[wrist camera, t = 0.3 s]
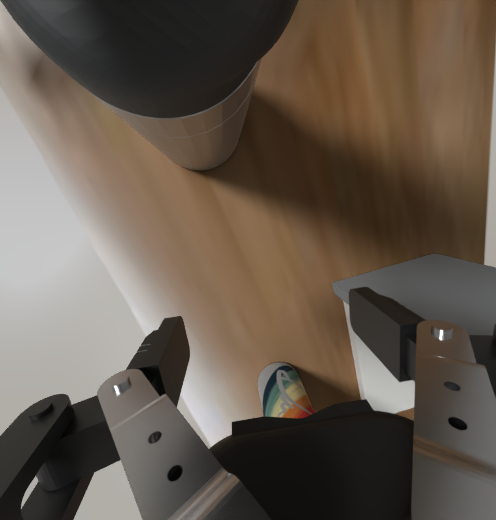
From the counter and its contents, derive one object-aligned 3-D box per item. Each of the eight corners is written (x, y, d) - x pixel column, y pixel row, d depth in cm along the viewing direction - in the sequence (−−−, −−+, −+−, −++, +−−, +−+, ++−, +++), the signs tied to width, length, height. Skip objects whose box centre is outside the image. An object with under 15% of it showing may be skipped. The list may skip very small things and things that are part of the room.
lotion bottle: (294, 356, 34) (393, 566, 14) (300, 391, 35) (397, 626, 16) (253, 366, 33) (297, 594, 14) (260, 401, 35) (310, 652, 15)
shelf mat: (342, 298, 32) (348, 302, 31) (425, 273, 33) (434, 277, 31) (363, 412, 37) (369, 421, 36) (435, 390, 37) (444, 397, 36)
